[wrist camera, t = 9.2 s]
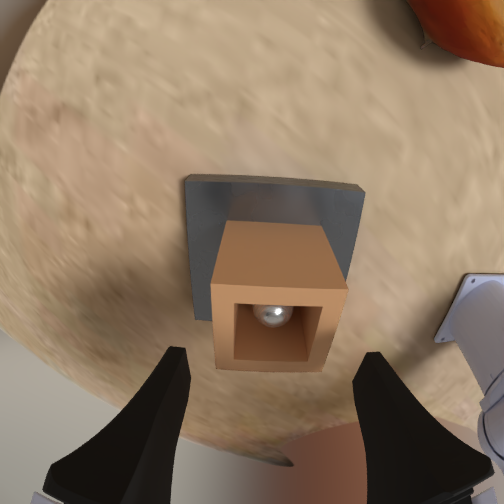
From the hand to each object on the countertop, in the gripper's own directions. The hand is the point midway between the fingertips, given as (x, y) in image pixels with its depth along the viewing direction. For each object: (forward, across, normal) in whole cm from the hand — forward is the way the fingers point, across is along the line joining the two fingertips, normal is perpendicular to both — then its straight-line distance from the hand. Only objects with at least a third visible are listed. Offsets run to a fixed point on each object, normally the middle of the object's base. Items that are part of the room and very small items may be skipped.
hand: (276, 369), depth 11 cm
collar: (+8, 0, 0) cm, 8 cm away
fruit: (+10, -10, -18) cm, 23 cm away
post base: (+9, 0, 0) cm, 9 cm away
